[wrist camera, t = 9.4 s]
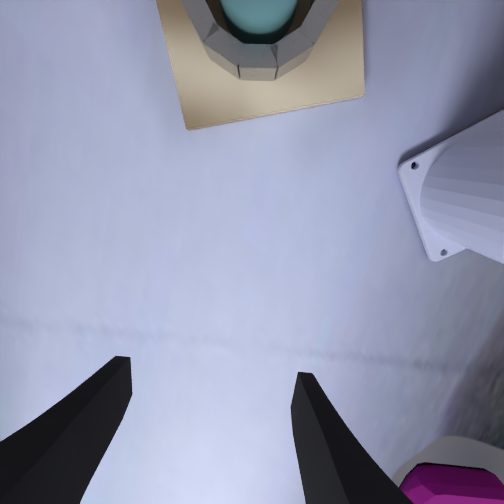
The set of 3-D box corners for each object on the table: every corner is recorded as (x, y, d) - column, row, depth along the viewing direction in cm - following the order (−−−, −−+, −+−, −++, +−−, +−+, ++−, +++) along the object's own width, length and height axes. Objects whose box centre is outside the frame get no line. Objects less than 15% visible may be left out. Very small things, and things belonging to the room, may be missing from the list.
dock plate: (137, -96, 14) (129, -114, 13) (349, -149, 13) (356, -172, 13) (189, 130, 18) (186, 129, 17) (358, 97, 17) (364, 94, 16)
